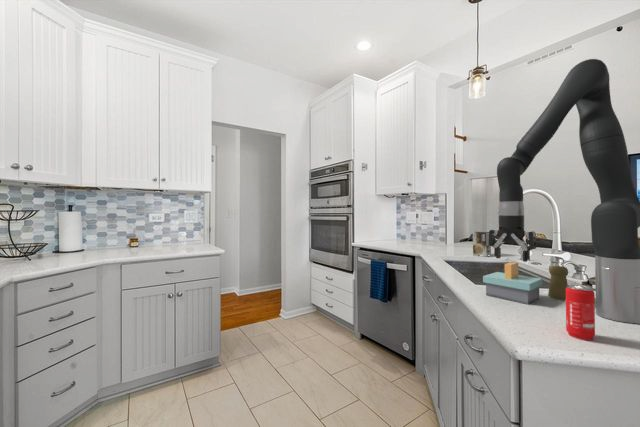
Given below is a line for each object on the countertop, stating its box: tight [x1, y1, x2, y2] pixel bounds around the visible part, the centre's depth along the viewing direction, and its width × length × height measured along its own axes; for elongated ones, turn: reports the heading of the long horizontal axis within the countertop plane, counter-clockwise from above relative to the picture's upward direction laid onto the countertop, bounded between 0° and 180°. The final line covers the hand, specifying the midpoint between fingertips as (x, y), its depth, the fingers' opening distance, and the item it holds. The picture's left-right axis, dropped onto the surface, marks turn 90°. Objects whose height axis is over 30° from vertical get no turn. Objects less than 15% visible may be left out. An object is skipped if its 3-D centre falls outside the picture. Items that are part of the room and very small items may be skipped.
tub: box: [485, 283, 540, 305], centre depth 100 cm, size 13×10×6 cm
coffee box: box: [472, 231, 492, 257], centre depth 190 cm, size 9×6×16 cm
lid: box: [482, 261, 543, 291], centre depth 100 cm, size 14×11×7 cm
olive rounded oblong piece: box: [547, 265, 569, 301], centre depth 99 cm, size 6×6×11 cm
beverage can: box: [565, 284, 596, 341], centre depth 69 cm, size 5×5×12 cm
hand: (511, 259), depth 100 cm, fingers open, 8 cm apart
